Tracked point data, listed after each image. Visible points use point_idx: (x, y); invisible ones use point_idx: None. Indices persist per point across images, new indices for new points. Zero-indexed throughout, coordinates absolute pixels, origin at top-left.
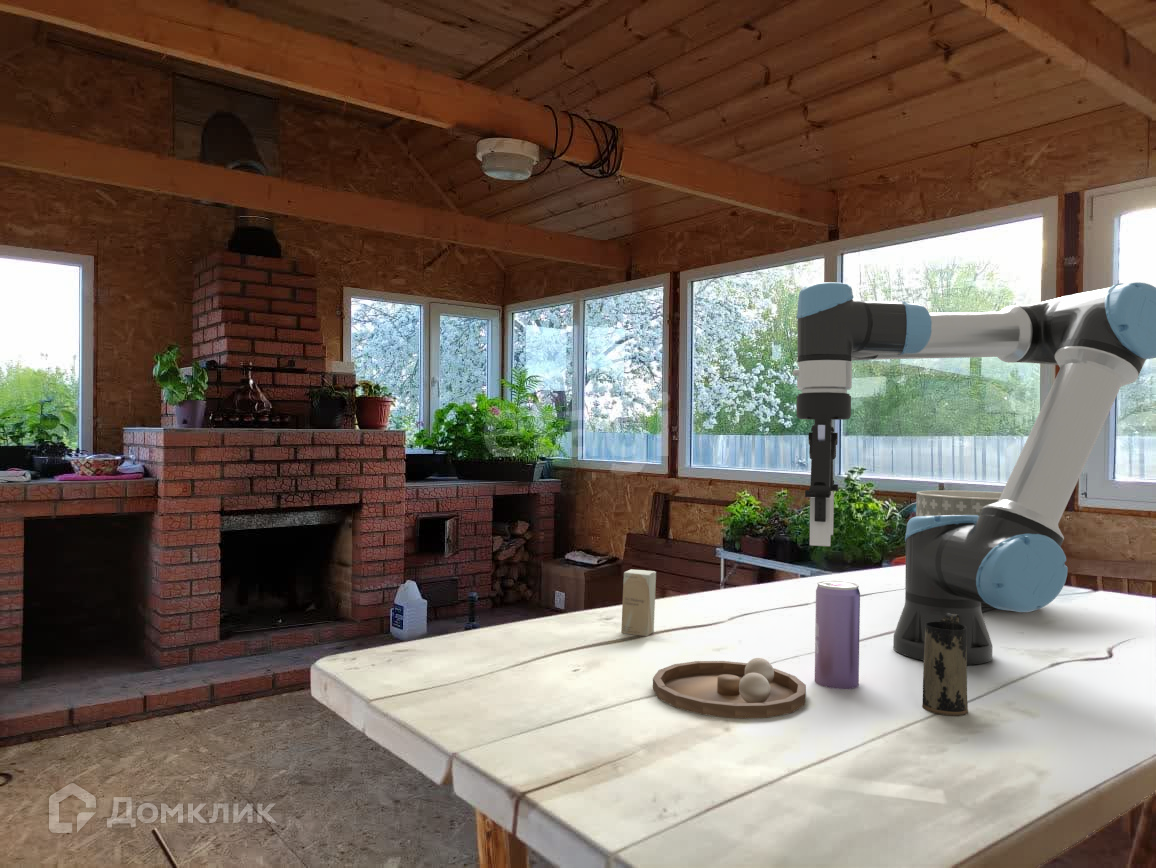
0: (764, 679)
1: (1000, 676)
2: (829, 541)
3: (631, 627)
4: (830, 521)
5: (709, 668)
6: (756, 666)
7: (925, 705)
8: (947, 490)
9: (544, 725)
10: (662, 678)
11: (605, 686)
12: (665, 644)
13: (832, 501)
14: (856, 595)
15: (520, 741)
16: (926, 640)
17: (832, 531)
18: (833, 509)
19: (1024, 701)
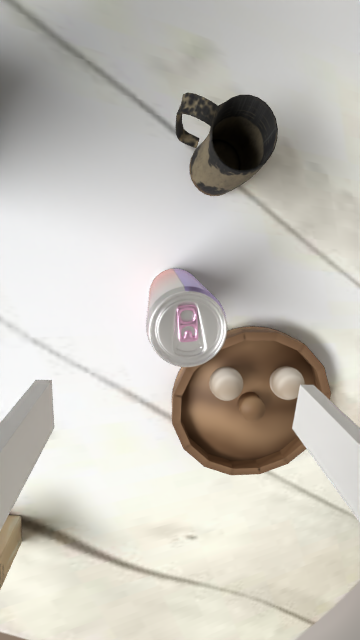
0: (297, 378)
1: (15, 38)
2: (319, 392)
3: (17, 540)
4: (352, 422)
5: (185, 431)
6: (241, 390)
7: (223, 193)
8: None
9: (344, 512)
10: (247, 465)
11: (235, 502)
12: (50, 489)
13: (1, 454)
14: (210, 293)
15: None
16: (246, 177)
17: (47, 387)
18: (6, 427)
19: (146, 39)
